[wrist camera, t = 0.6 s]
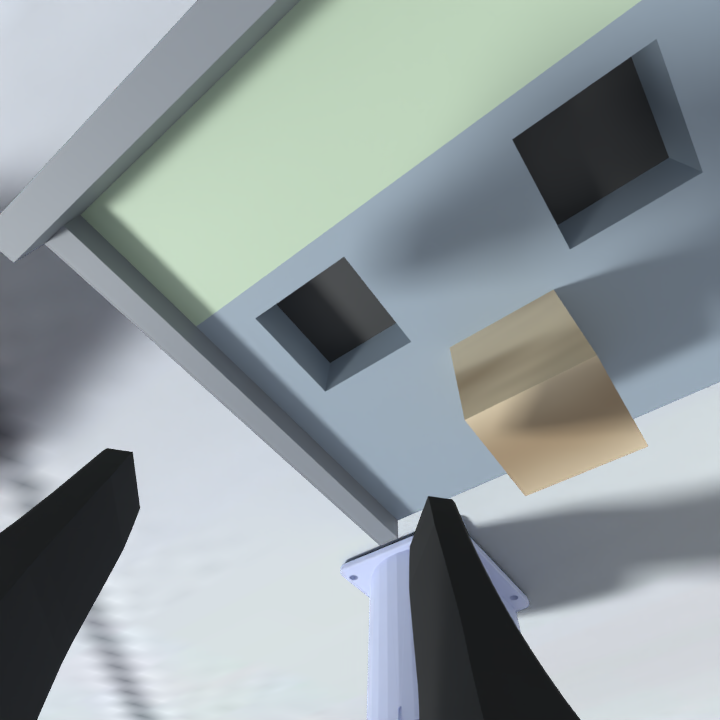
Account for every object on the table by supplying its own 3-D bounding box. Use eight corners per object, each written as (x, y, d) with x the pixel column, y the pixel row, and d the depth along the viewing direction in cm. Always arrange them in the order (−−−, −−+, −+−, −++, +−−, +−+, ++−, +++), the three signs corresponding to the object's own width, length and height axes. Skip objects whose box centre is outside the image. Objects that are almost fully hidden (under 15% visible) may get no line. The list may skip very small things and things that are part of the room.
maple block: (599, 370, 18) (648, 446, 15) (501, 416, 19) (525, 496, 16) (553, 289, 16) (597, 355, 13) (449, 347, 18) (464, 419, 14)
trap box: (812, 286, 18) (936, 360, 14) (380, 487, 26) (379, 575, 21) (636, -382, 10) (805, -660, 6) (76, 187, 18) (-20, 235, 13)
